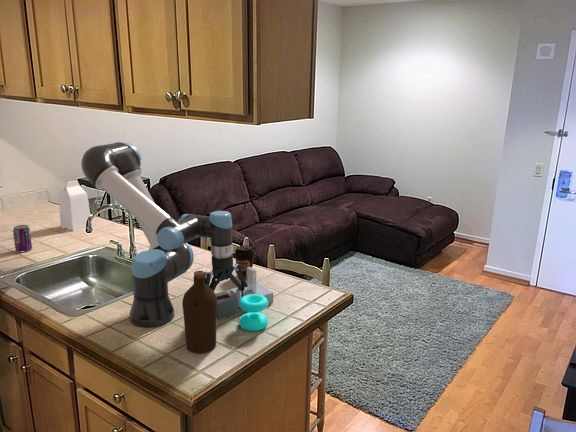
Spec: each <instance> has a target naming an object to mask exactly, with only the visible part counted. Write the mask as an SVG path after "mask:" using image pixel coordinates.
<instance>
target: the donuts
mask: <svg viewBox="0 0 576 432" xmlns="http://www.w3.org/2000/svg"><path fill="white" fill-rule="evenodd" d="M268 305H269V304H268V300H267V298H266V297H264V296H262V295H258V294H249V295H245V296H243V297H242V298H241V299H240V300H239V306H240V307H239V308H240V309H241V310H242V311H243V312H245V313H244V314H243V315H241V316H240V318H239V320H238V325H239V326H240V328H242V329H243V330H245V331H249V332H258V331H261V330H263V329H265V328H266V327H267V326H268V323H269V319H268V317H267V316H266V315H265V314H264V313H261V312H262V311H265V310H266V309H267V308H268Z"/></svg>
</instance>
